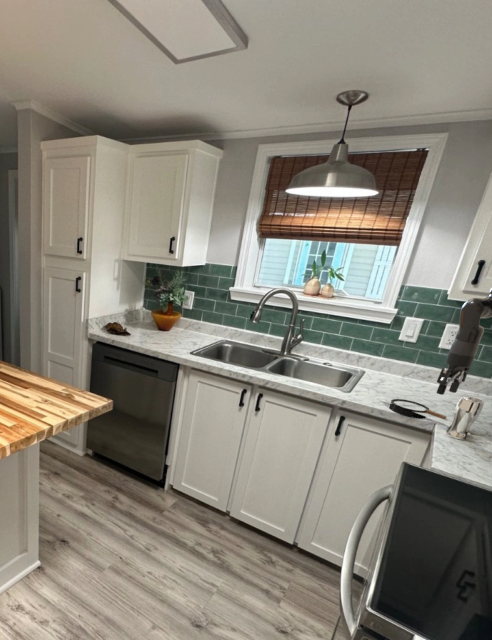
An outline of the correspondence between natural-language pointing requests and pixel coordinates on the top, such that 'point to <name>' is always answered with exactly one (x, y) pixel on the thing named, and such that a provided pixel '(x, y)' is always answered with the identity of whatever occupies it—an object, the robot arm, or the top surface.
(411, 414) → the frying pan
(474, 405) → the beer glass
